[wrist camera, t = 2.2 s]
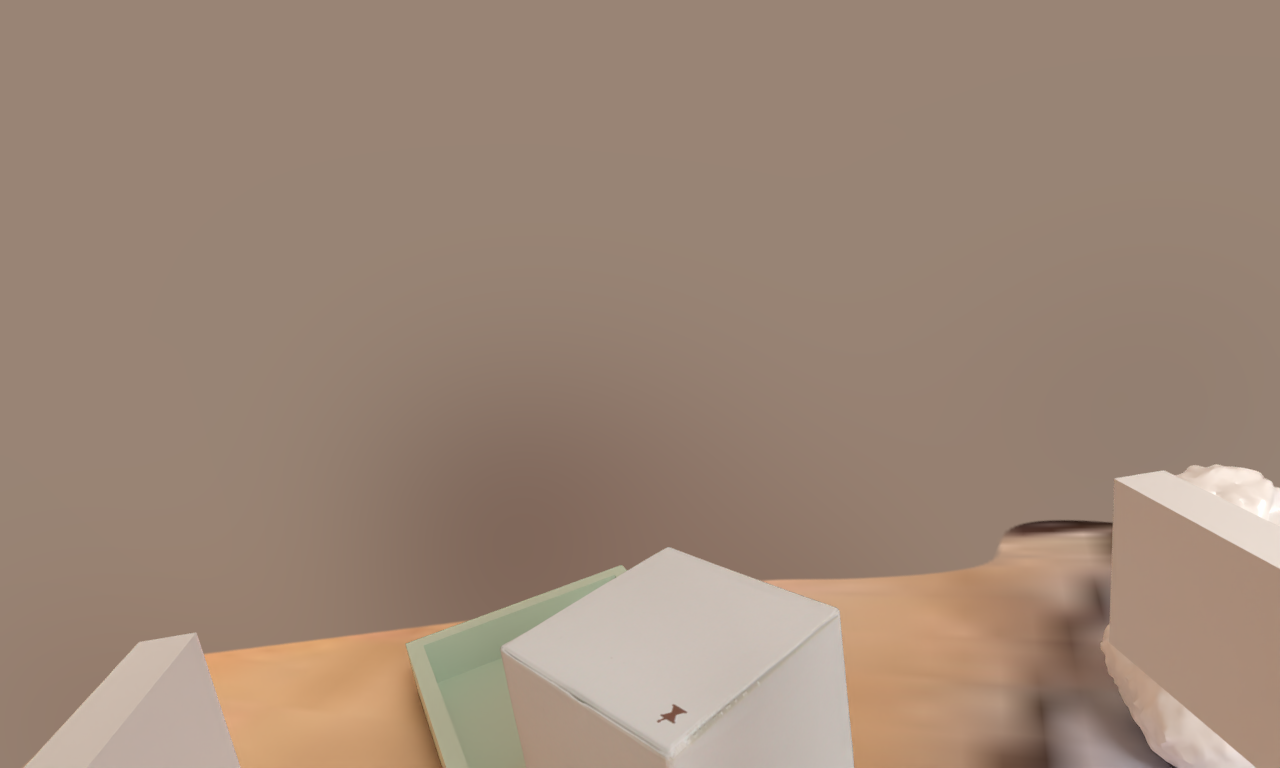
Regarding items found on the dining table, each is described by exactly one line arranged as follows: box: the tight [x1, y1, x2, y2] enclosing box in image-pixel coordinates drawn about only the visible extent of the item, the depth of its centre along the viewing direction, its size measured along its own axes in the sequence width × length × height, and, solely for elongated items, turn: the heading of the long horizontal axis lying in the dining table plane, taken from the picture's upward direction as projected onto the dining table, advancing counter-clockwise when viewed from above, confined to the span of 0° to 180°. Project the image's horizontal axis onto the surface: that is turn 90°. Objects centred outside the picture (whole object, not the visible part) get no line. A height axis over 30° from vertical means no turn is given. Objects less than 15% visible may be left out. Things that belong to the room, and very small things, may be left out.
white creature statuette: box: [1100, 464, 1280, 768], centre depth 30 cm, size 10×9×12 cm
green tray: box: [406, 565, 627, 768], centre depth 38 cm, size 13×13×3 cm
